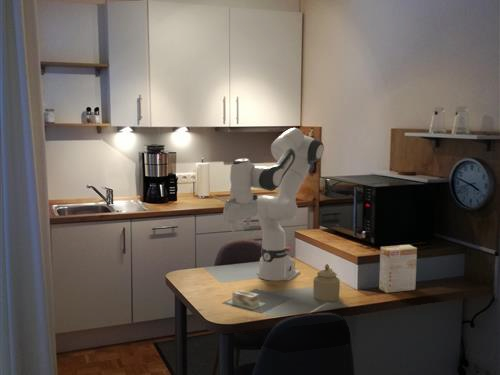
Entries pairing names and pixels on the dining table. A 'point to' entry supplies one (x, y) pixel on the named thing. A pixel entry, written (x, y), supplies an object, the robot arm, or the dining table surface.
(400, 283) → the coffeecake box
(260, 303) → the rubber mat
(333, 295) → the sugar bowl
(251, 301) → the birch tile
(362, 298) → the dining table surface
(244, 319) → the dining table surface
